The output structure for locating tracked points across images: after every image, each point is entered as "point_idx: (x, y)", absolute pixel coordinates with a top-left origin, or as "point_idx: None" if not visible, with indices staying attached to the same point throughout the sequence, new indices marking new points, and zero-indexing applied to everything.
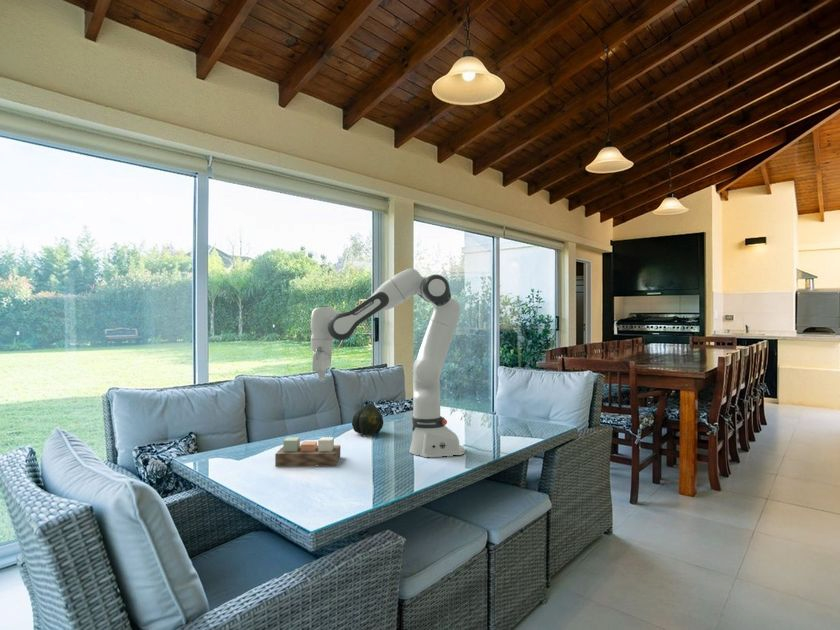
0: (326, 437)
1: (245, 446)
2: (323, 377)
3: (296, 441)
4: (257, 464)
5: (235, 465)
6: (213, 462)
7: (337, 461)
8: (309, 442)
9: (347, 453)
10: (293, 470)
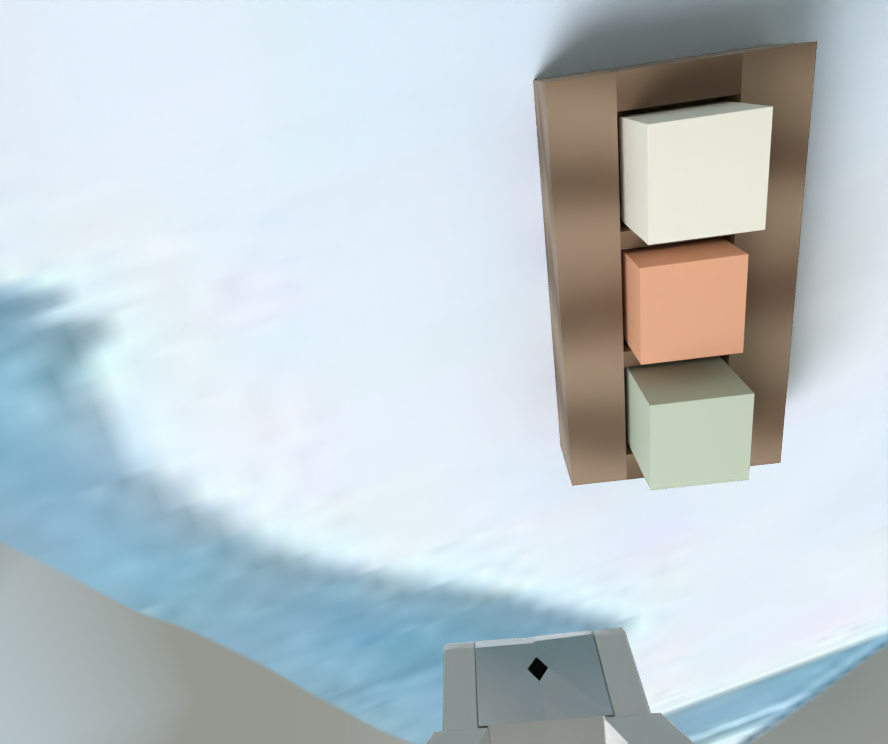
0: (657, 191)
1: (363, 692)
2: (634, 701)
3: (750, 392)
4: (705, 520)
5: (718, 603)
6: (662, 699)
7: (680, 58)
8: (676, 313)
9: (429, 51)
10: (844, 297)
